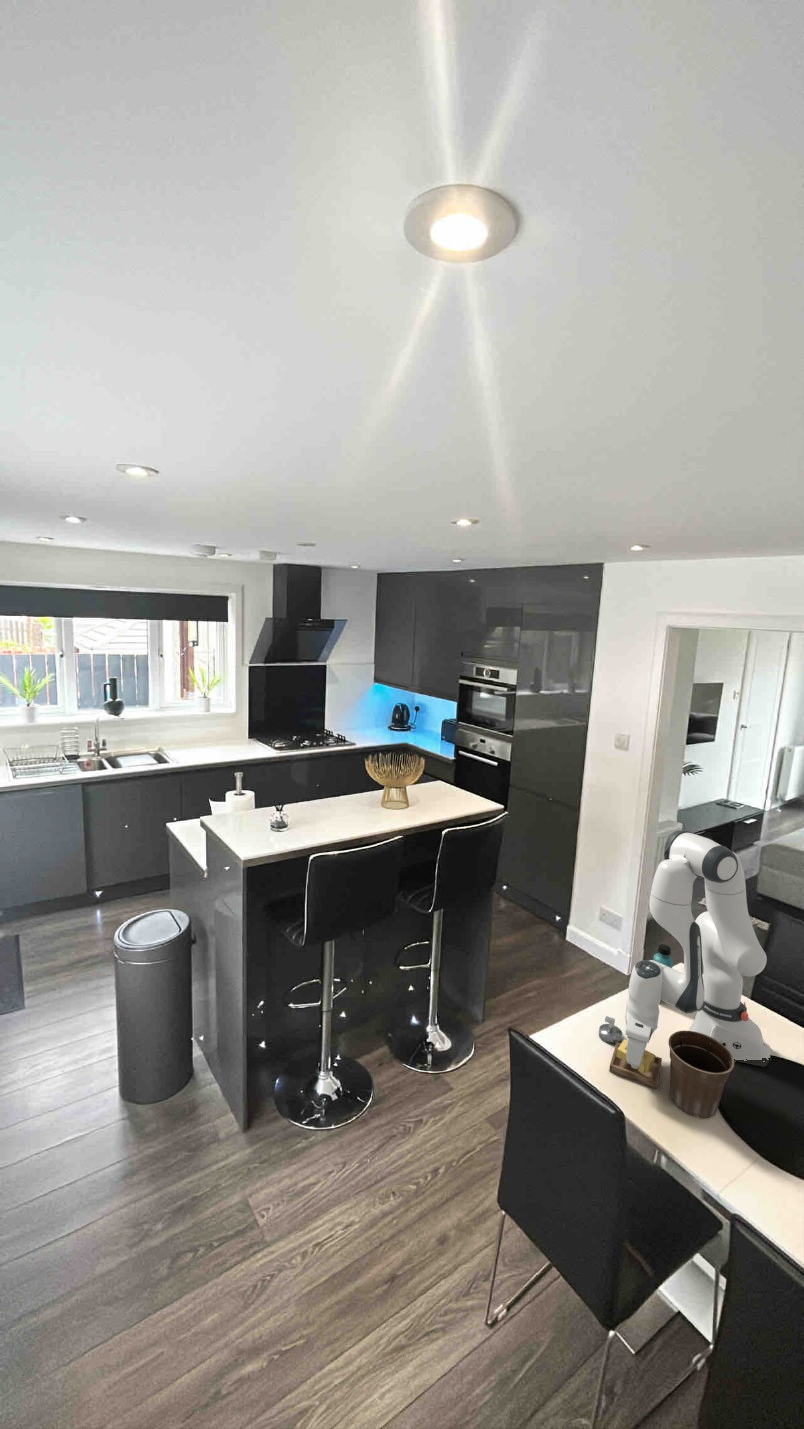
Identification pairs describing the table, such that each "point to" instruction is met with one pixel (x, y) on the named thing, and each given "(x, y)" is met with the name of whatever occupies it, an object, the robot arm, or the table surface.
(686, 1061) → the plant pot
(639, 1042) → the robot arm
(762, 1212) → the table surface
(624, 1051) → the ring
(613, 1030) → the silver knob
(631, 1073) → the tray
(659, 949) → the beverage bottle
